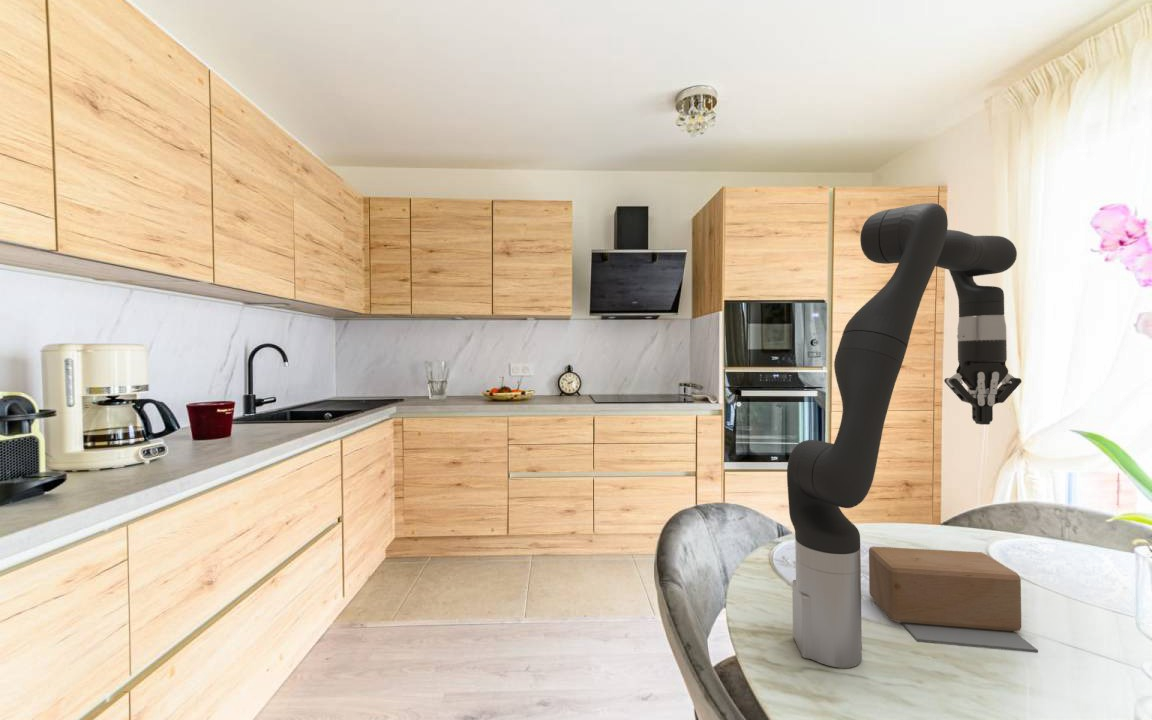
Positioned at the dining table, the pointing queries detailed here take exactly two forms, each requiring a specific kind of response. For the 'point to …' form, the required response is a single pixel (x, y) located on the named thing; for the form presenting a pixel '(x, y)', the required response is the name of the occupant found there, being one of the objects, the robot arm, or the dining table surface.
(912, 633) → the mat
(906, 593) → the wooden block
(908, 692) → the dining table surface
